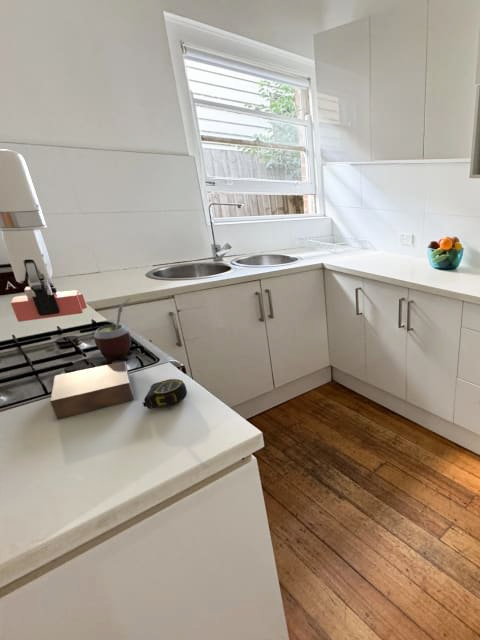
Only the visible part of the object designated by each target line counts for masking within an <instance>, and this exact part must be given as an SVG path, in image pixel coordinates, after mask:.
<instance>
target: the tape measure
mask: <svg viewBox="0 0 480 640" xmlns="http://www.w3.org/2000/svg"><path fill="white" fill-rule="evenodd" d="M187 394H188V389H187V387H186V384H185V382H184V381H183V380H182V379H177V378H169V379H165V380H162V381H158V382H156V383H155V382H154V383H153V384H151V386H150V387H149V390H148V392H147V394H146V396H144V399H143V402H141V404H142V406H143V407H145V408H147V409H149V410H152V409H156V408H165V407H171V406H174V405H176V404H179V403H181V402H182V401H183V400H184V399H186V397H187Z"/></svg>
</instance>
